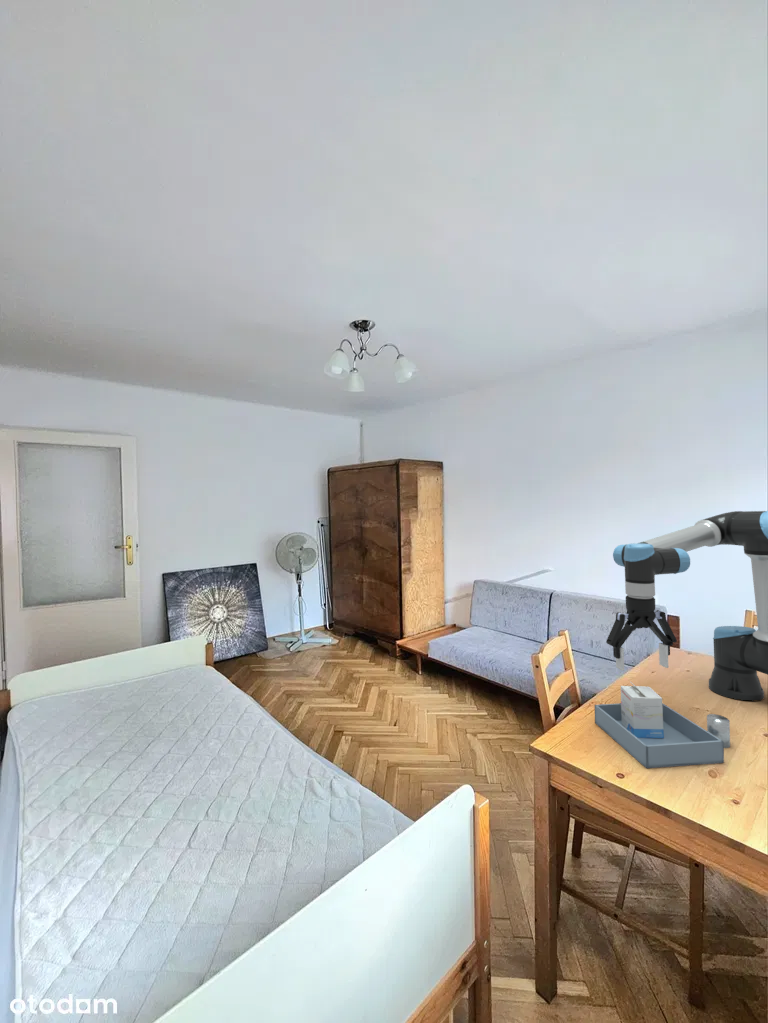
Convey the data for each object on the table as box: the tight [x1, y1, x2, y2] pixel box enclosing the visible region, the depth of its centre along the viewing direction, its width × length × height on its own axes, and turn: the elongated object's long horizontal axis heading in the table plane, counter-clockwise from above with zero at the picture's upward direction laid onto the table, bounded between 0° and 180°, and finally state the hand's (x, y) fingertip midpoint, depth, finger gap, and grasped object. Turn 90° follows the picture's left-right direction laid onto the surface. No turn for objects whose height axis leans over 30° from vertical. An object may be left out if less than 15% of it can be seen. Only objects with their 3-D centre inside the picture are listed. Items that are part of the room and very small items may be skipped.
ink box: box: [620, 682, 664, 738], centre depth 125 cm, size 9×8×13 cm
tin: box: [706, 713, 731, 749], centre depth 119 cm, size 5×5×7 cm
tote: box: [594, 702, 725, 769], centre depth 121 cm, size 21×23×6 cm
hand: (642, 667), depth 125 cm, fingers open, 13 cm apart
